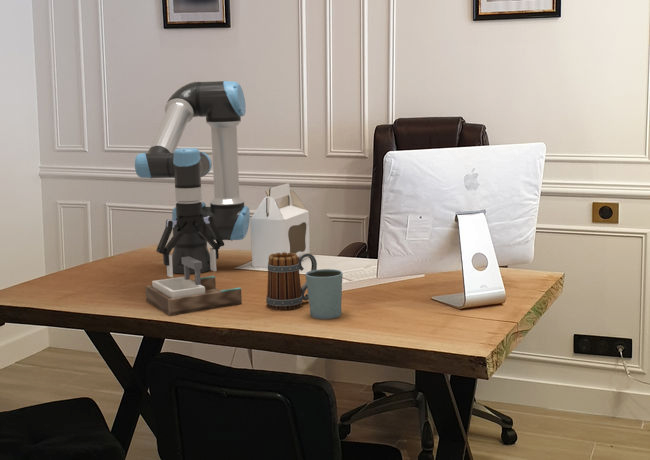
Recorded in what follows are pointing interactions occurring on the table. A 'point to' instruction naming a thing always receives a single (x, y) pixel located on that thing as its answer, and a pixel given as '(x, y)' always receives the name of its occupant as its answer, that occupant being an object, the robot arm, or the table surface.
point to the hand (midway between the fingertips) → (192, 273)
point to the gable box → (279, 226)
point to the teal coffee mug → (324, 293)
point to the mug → (286, 281)
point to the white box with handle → (182, 281)
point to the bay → (195, 299)
